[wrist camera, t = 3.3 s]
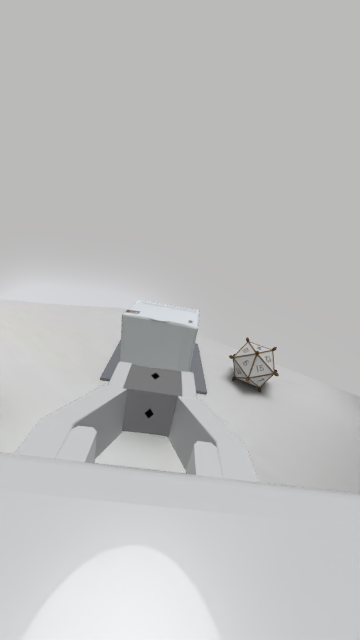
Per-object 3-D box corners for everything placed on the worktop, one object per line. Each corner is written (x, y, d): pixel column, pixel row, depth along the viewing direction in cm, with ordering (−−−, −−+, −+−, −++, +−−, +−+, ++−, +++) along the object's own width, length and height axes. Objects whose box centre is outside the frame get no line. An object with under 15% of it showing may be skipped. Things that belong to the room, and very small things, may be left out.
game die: (232, 393, 43) (221, 342, 45) (275, 385, 43) (262, 334, 45) (242, 402, 34) (227, 339, 36) (296, 392, 34) (279, 329, 36)
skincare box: (182, 402, 33) (204, 309, 28) (177, 436, 27) (202, 327, 22) (129, 390, 33) (139, 296, 28) (112, 420, 28) (121, 309, 22)
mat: (197, 345, 51) (197, 343, 51) (206, 394, 35) (206, 392, 35) (124, 334, 50) (124, 332, 50) (100, 379, 34) (100, 377, 34)
